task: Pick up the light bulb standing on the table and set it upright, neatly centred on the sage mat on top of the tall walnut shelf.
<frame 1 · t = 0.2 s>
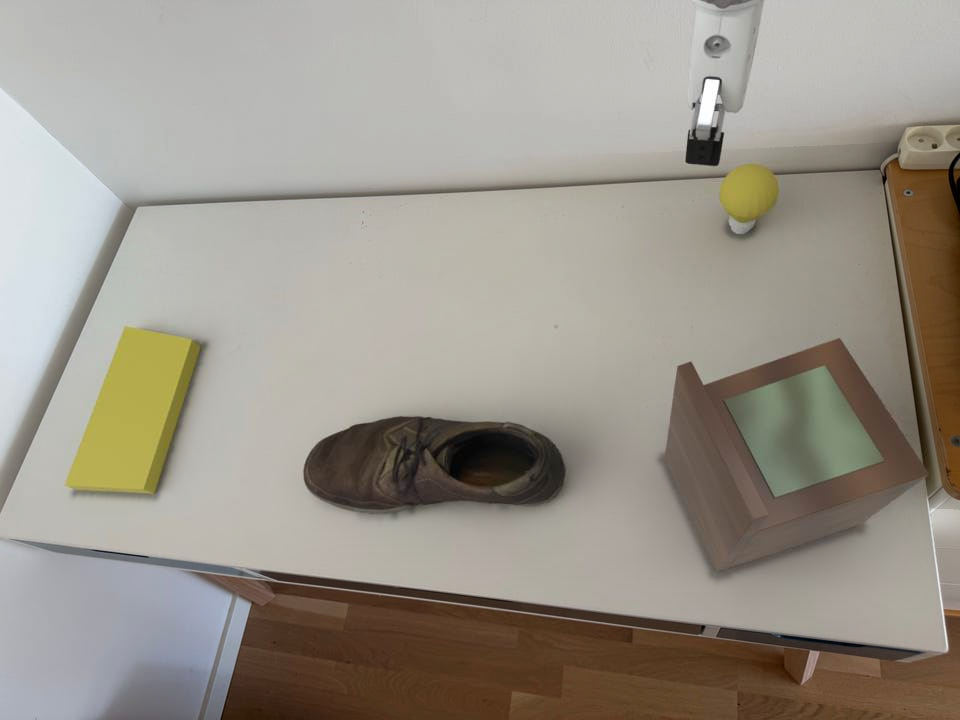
hand: (710, 126, 66), 21 cm above the table, tool pointing down, fingers open, 9 cm apart
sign: (144, 408, 91), on the table
light bulb: (740, 227, 85), on the table
shoe: (437, 473, 78), on the table
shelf: (762, 488, 70), on the table
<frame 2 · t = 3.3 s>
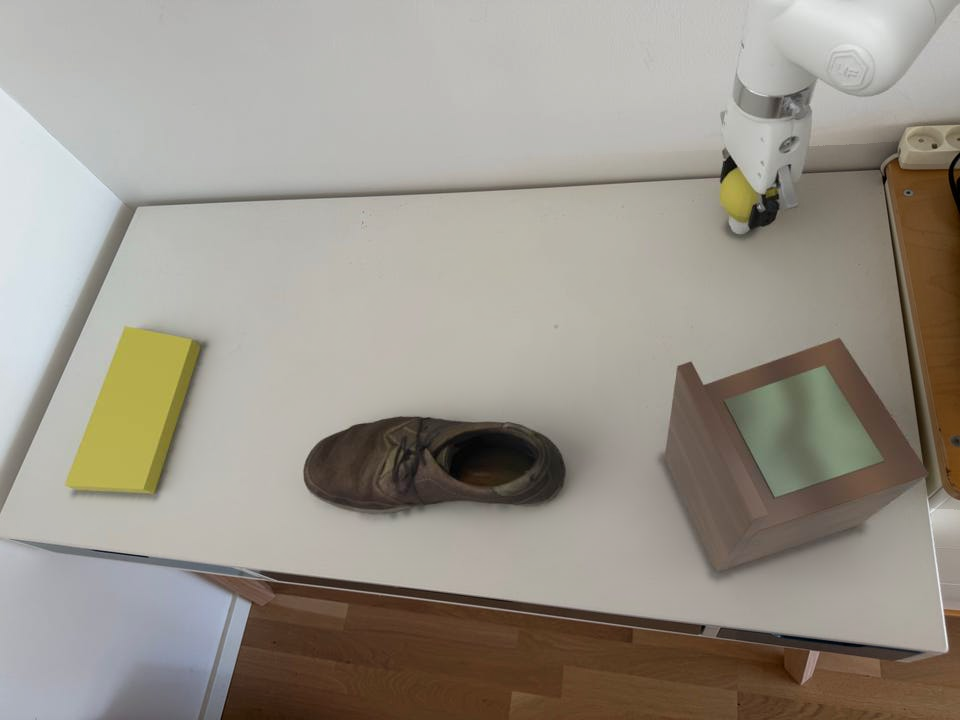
hand: (746, 200, 80), 5 cm above the table, tool pointing down, fingers closed on light bulb, 6 cm apart
light bulb: (740, 227, 85), on the table, touching gripper
everything else where it was.
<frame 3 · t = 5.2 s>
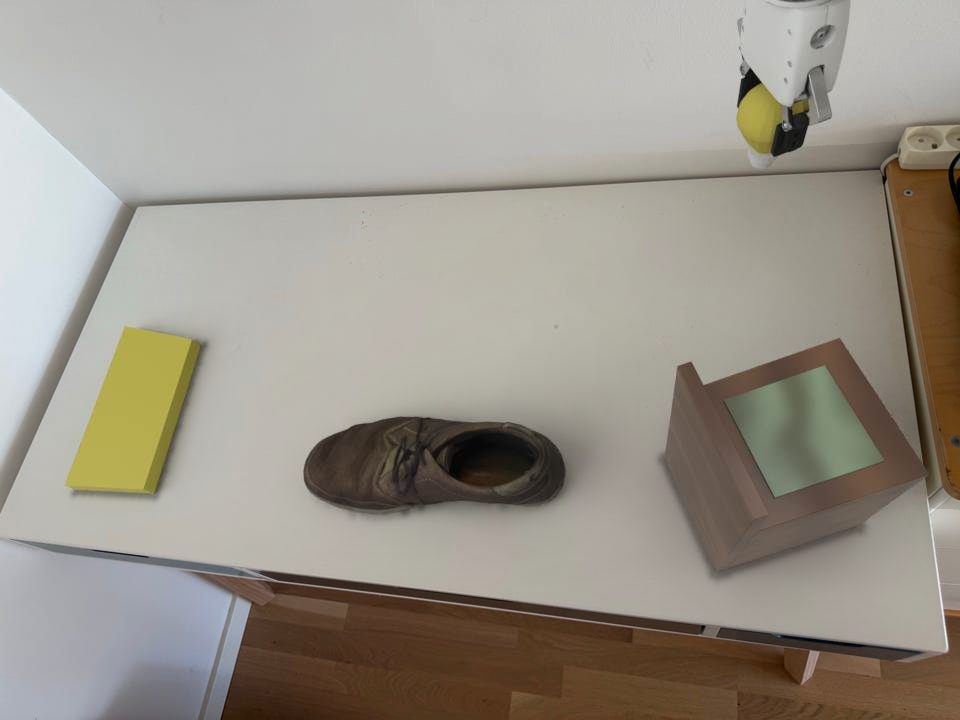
hand: (768, 126, 69), 18 cm above the table, tool pointing down, fingers closed on light bulb, 6 cm apart
light bulb: (760, 162, 73), point 12 cm above the table, touching gripper
everything else where it was.
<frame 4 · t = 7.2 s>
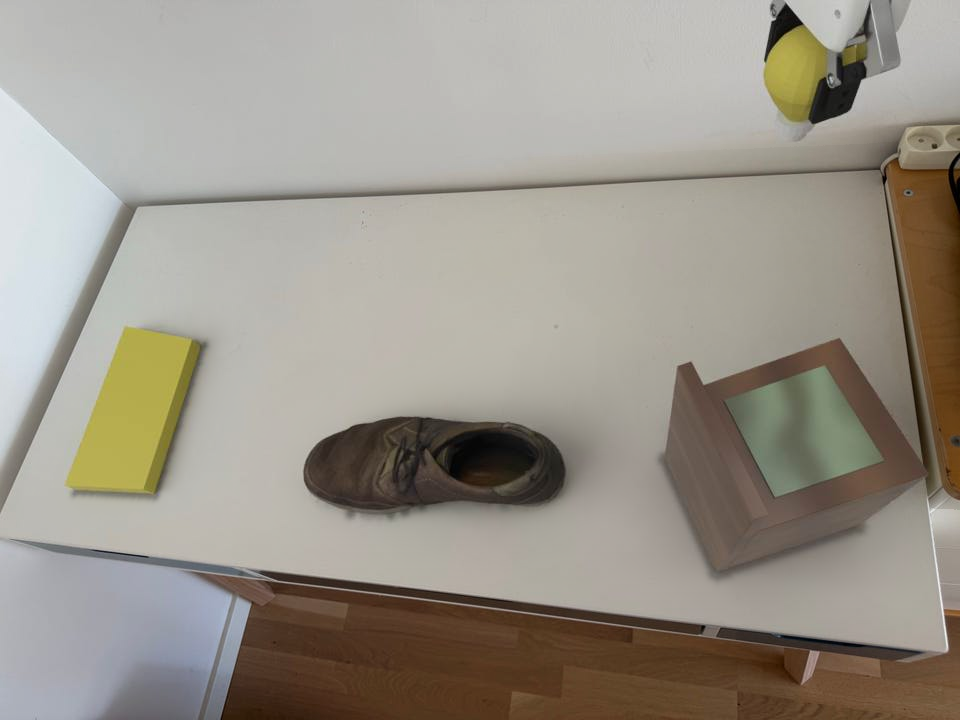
hand: (805, 85, 53), 31 cm above the table, tool pointing down, fingers closed on light bulb, 6 cm apart
light bulb: (792, 133, 58), point 26 cm above the table, touching gripper
everything else where it was.
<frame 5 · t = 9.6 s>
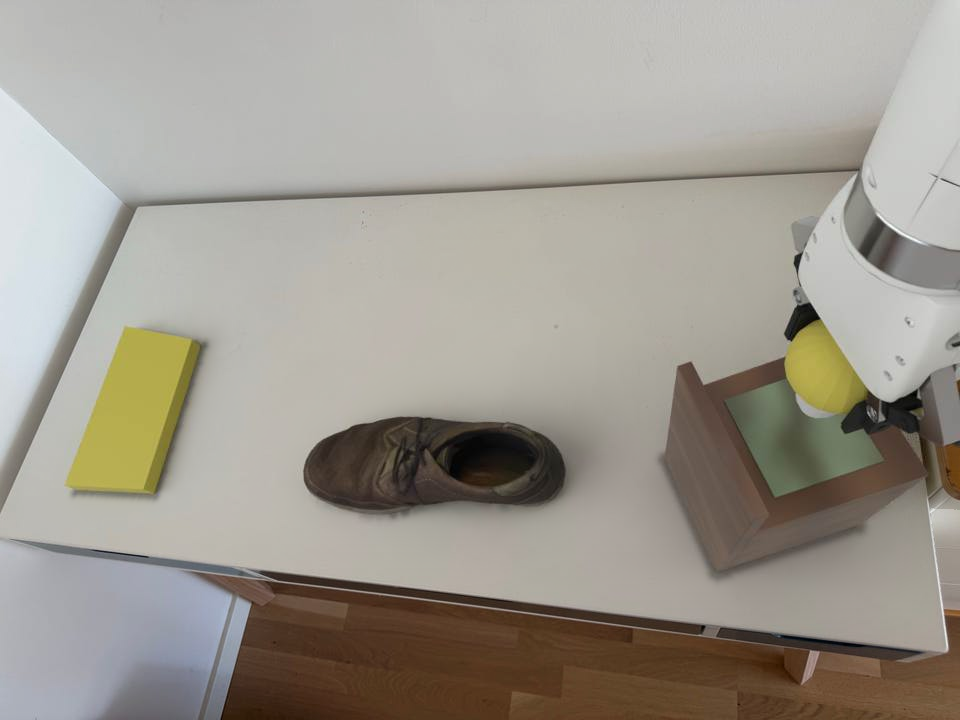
hand: (834, 374, 44), 29 cm above the table, tool pointing down, fingers closed on light bulb, 6 cm apart
light bulb: (814, 404, 49), point 23 cm above the table, touching gripper
everything else where it was.
when the fingers open (23 cm above the table, at t = 11.4 s): light bulb stays where it is, resting on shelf.
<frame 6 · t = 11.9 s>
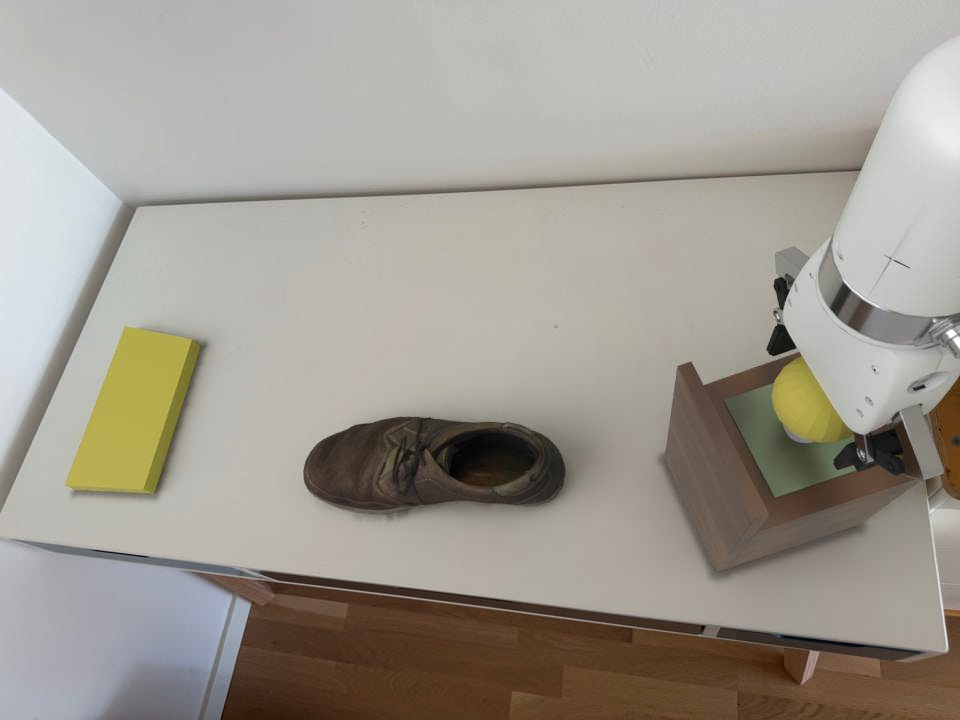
hand: (819, 400, 48), 24 cm above the table, tool pointing down, fingers open, 9 cm apart
light bulb: (800, 430, 54), point 18 cm above the table, touching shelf
everything else where it was.
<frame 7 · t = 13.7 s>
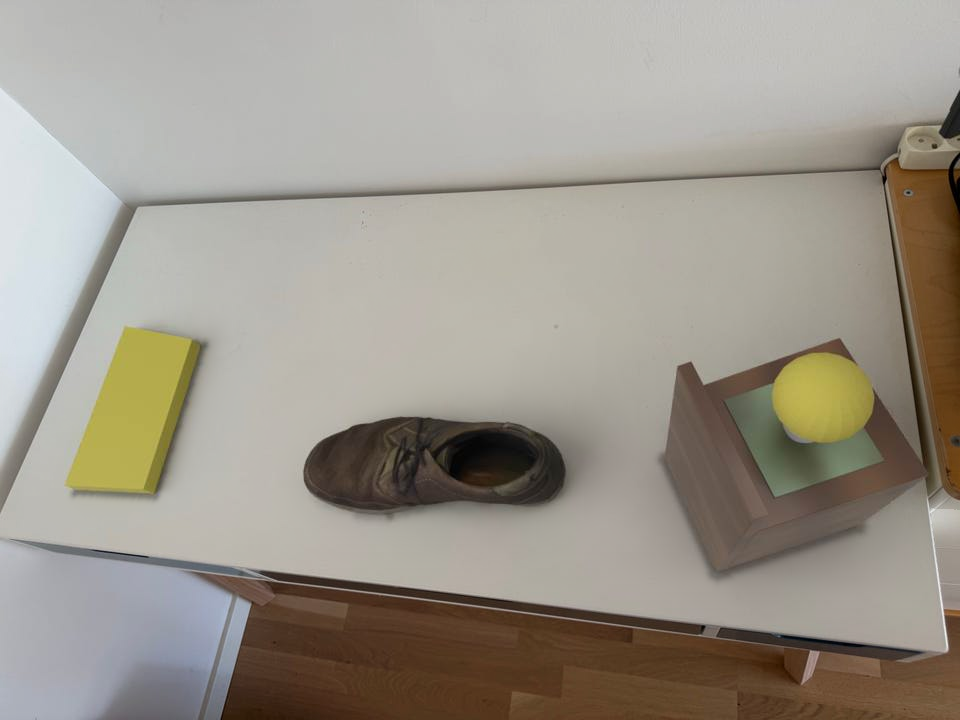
nothing on the table moved.
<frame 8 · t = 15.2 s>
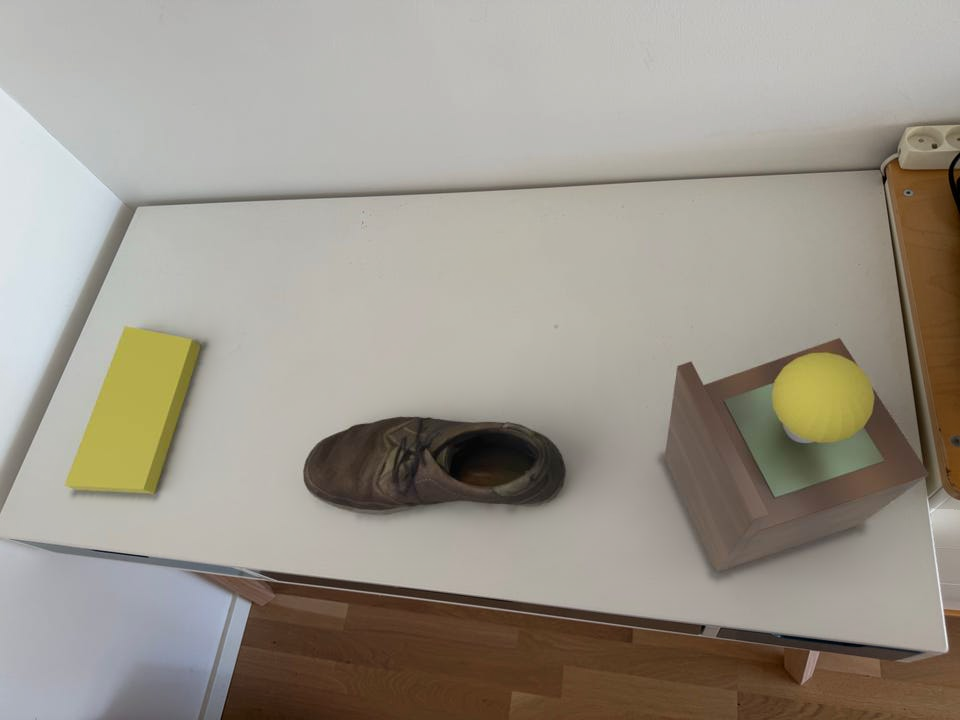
nothing on the table moved.
at the end: light bulb inside the target area on the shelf (0.0 cm from its centre), point 18.0 cm above the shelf's base; light bulb tilted 0°; the gripper is holding nothing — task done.
